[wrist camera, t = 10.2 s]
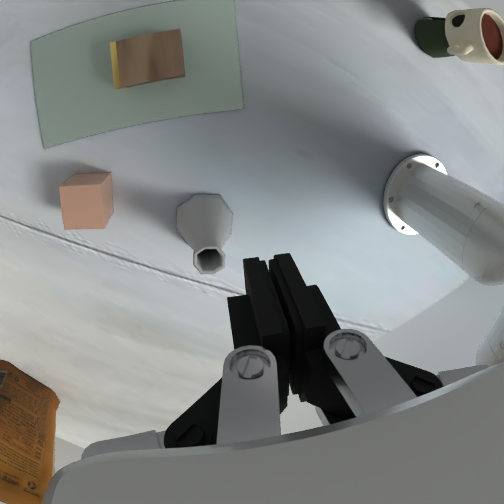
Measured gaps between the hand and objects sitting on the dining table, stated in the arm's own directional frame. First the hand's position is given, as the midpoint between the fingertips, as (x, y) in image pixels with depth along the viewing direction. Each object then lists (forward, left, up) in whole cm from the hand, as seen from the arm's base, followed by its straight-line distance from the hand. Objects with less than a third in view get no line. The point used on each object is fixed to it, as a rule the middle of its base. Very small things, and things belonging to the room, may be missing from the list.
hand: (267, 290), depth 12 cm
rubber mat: (+8, -12, -27) cm, 31 cm away
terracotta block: (+15, +2, -27) cm, 31 cm away
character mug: (-31, -16, -28) cm, 44 cm away
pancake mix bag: (+43, +34, -28) cm, 62 cm away
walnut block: (+9, -12, -25) cm, 29 cm away
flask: (+2, +8, -28) cm, 29 cm away
